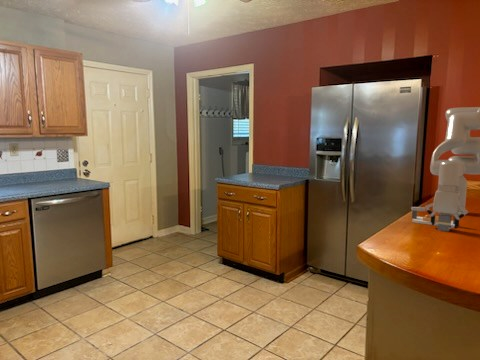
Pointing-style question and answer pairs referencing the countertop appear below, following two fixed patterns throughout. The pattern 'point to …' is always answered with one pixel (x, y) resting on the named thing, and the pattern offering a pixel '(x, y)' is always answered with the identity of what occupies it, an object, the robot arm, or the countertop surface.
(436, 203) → the robot arm
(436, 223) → the stand
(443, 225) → the block
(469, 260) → the countertop surface
